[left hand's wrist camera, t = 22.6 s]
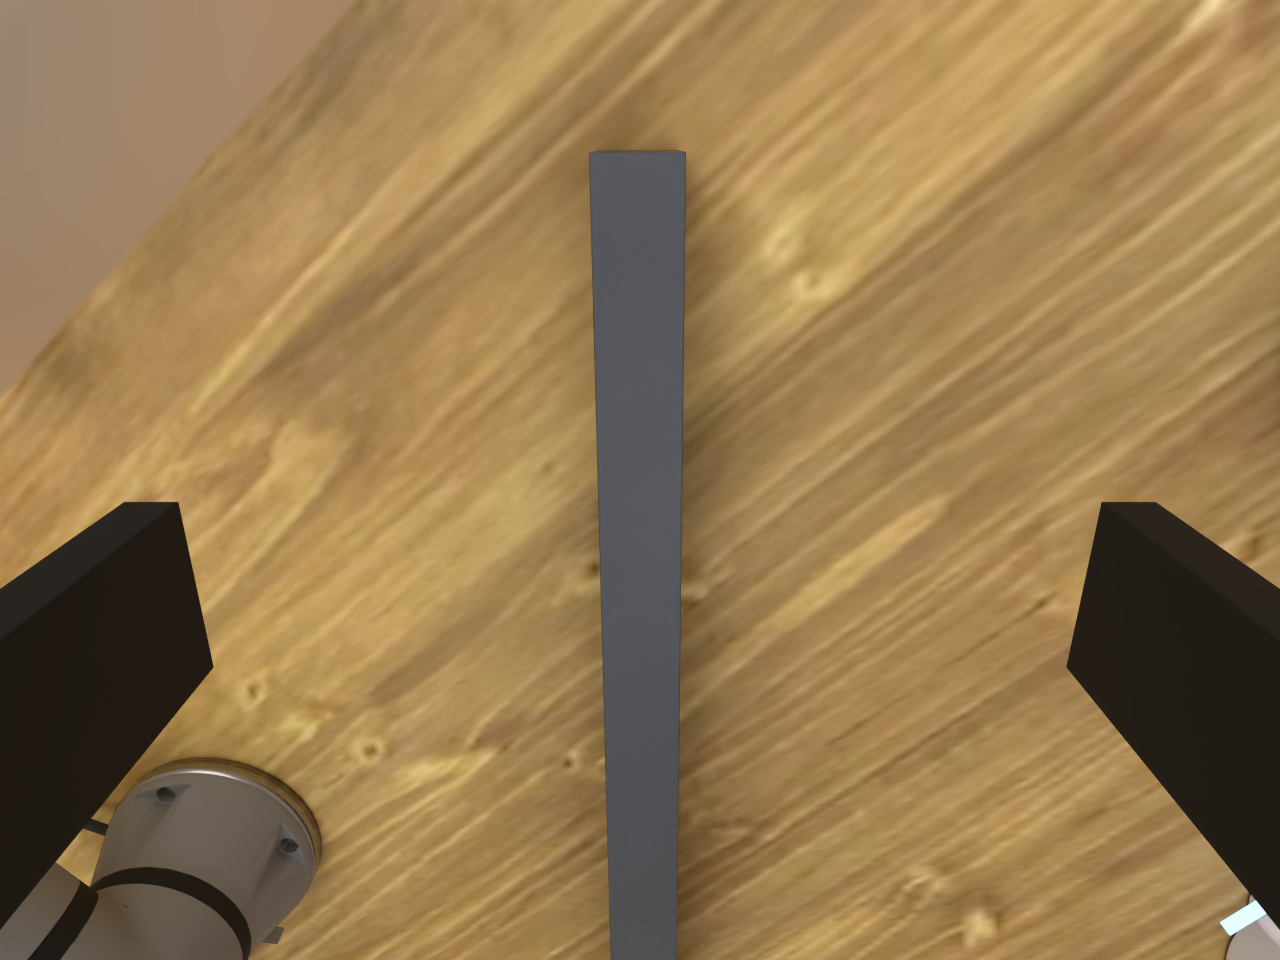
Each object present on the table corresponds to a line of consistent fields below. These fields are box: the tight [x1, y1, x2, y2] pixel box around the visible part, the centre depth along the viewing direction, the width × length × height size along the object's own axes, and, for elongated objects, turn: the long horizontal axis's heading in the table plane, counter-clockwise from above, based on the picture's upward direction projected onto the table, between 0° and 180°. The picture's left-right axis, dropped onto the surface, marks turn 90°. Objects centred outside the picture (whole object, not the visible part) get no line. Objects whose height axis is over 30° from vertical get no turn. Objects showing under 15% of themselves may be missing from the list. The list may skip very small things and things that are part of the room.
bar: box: [589, 150, 686, 960], centre depth 59 cm, size 80×4×9 cm, turn 1°
